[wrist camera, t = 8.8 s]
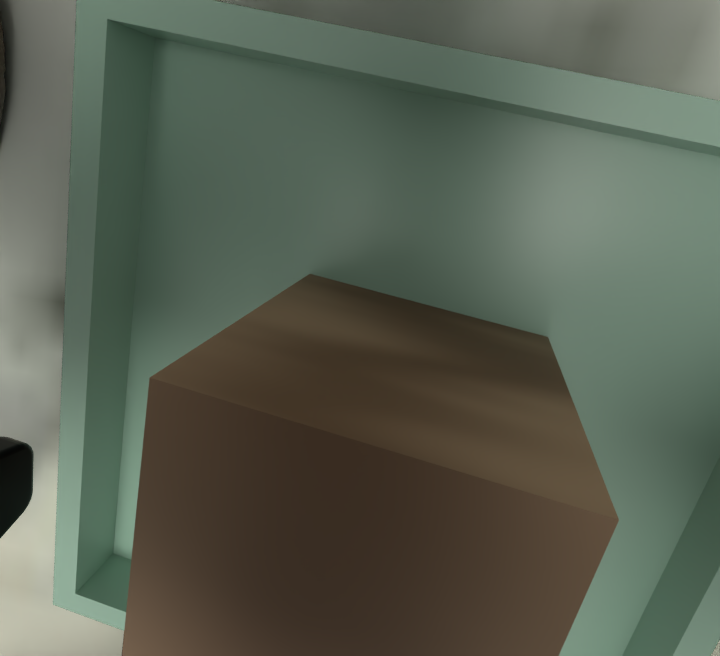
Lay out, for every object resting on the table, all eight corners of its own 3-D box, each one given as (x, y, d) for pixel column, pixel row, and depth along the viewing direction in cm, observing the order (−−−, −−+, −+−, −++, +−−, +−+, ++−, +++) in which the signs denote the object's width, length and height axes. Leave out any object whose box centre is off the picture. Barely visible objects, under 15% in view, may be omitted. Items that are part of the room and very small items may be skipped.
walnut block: (547, 337, 11) (618, 520, 5) (477, 539, 13) (474, 843, 7) (309, 273, 12) (149, 377, 6) (271, 473, 13) (117, 703, 8)
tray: (885, 156, 10) (991, 154, 8) (602, 722, 14) (621, 813, 12) (147, 6, 11) (78, -27, 9) (106, 549, 16) (53, 604, 14)
